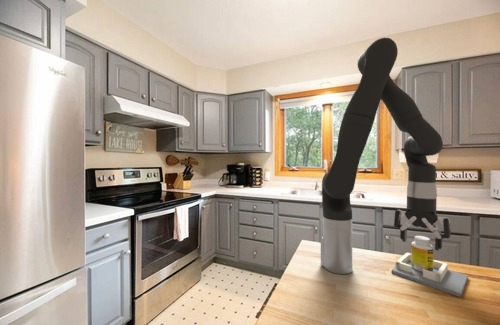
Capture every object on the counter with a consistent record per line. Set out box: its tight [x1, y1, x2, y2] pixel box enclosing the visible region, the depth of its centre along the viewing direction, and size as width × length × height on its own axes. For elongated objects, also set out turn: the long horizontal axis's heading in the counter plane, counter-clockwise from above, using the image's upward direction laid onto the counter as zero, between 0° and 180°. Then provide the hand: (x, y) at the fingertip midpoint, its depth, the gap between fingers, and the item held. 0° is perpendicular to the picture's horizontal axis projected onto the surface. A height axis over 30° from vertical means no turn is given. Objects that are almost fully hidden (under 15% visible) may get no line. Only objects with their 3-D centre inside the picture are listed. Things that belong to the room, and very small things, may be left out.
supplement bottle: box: [410, 235, 434, 272], centre depth 69 cm, size 6×6×10 cm
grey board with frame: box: [391, 252, 469, 298], centre depth 67 cm, size 16×14×3 cm
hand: (420, 245), depth 70 cm, fingers open, 8 cm apart
